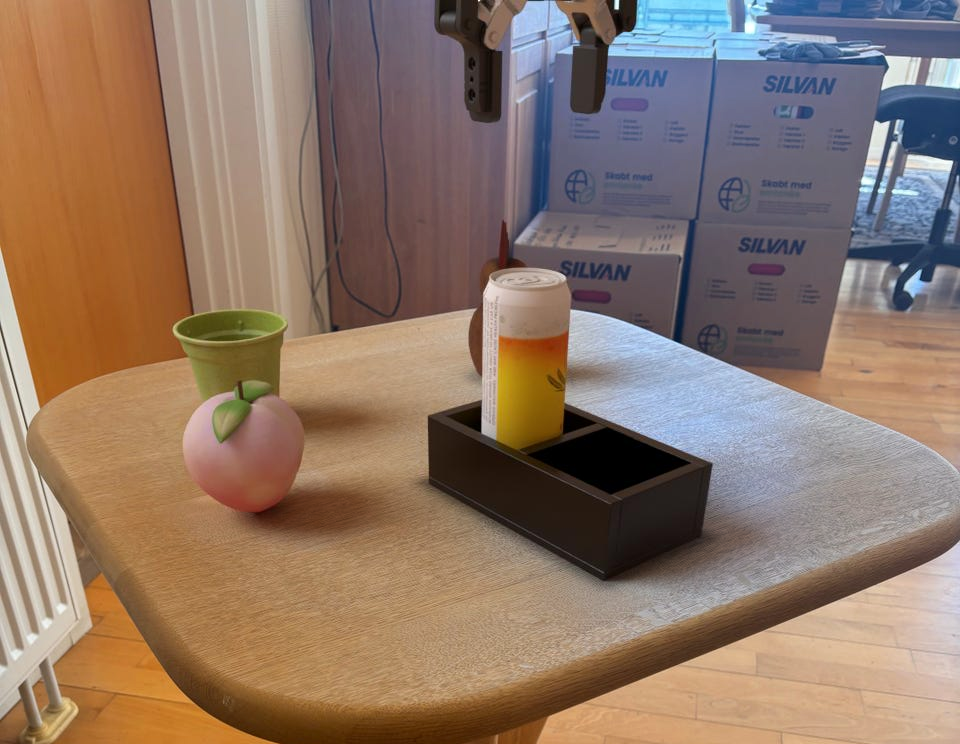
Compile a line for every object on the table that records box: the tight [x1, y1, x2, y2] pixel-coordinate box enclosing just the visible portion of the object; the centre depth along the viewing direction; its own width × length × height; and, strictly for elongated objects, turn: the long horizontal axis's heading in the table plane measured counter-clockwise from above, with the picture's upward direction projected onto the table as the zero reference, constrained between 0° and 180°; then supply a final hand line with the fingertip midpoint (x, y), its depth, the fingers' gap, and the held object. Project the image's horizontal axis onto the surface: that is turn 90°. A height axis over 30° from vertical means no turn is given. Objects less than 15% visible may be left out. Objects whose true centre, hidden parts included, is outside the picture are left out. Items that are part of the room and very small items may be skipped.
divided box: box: [427, 399, 714, 582], centre depth 71 cm, size 10×19×6 cm, turn 40°
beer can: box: [481, 267, 572, 450], centre depth 71 cm, size 6×6×15 cm
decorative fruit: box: [182, 380, 306, 513], centre depth 69 cm, size 9×8×10 cm
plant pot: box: [172, 308, 289, 404], centre depth 84 cm, size 9×9×9 cm
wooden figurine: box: [467, 219, 528, 378], centre depth 93 cm, size 7×6×15 cm
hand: (537, 117), depth 61 cm, fingers open, 8 cm apart
